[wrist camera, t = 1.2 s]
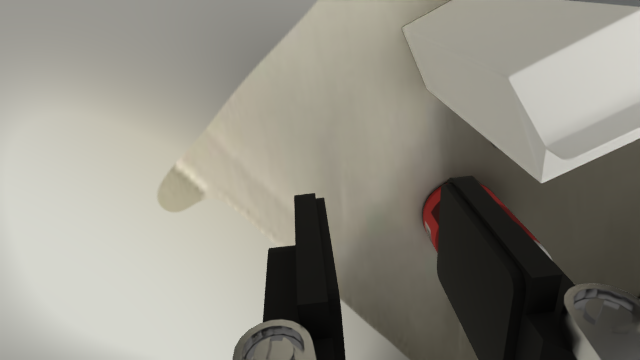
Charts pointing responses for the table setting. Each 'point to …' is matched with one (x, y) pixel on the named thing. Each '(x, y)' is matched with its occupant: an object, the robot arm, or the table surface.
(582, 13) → the milk
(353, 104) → the table surface
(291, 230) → the table surface
